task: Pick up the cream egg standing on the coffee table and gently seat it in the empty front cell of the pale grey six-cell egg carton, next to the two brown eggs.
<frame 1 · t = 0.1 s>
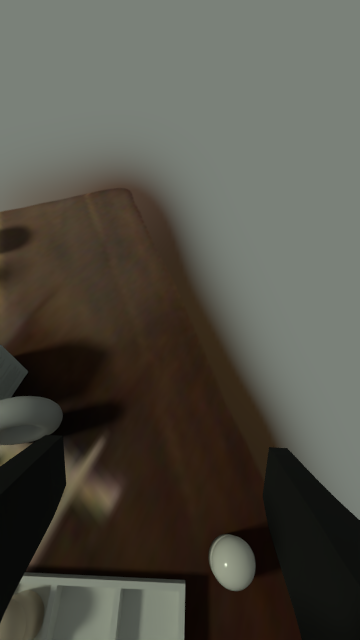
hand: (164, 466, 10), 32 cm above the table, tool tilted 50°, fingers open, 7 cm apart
white rounded piece: (36, 431, 42), on the table
egg: (227, 557, 34), on the table
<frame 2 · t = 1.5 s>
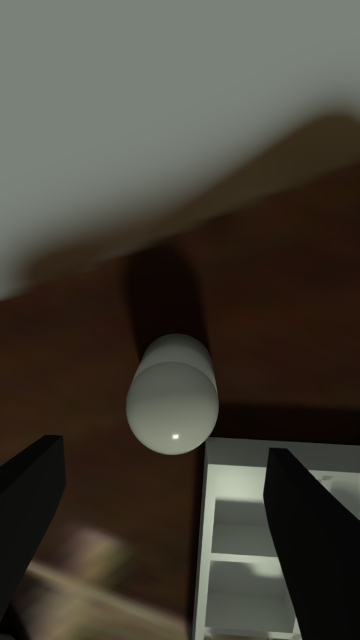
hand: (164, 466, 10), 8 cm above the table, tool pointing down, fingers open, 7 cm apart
egg: (176, 367, 19), on the table
egg carton: (291, 562, 22), on the table
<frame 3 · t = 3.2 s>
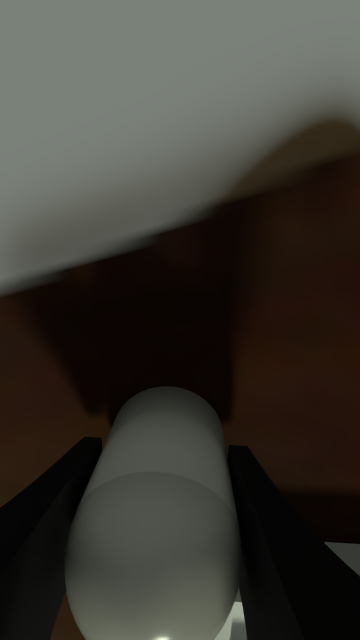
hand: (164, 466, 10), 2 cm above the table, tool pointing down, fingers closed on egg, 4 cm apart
egg: (167, 436, 12), on the table, touching gripper
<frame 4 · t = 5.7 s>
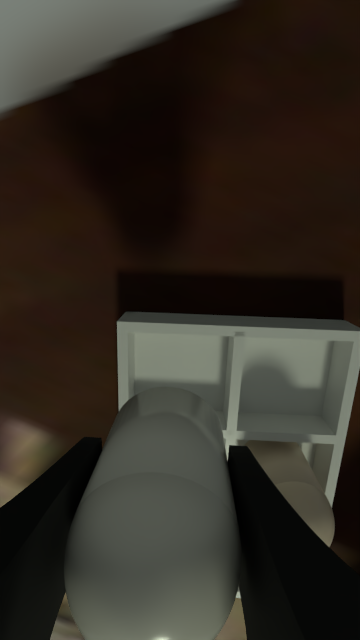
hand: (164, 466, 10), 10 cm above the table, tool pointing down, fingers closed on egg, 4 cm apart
egg: (167, 436, 12), point 8 cm above the table, touching gripper
egg carton: (223, 453, 22), on the table
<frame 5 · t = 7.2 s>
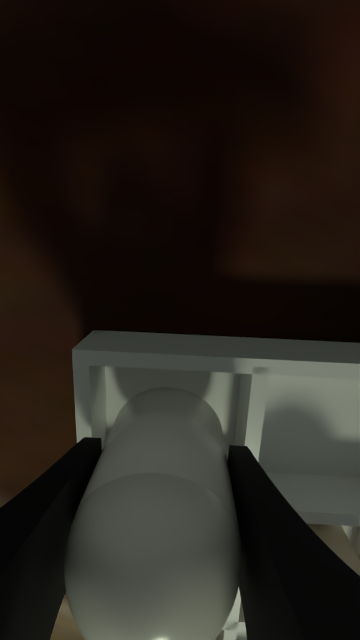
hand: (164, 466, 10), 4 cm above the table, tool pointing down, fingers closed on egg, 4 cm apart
egg: (167, 437, 12), point 2 cm above the table, touching gripper
egg carton: (230, 522, 16), on the table
when the fingers open (4 cm above the table, at t = 8.5 s): egg drops 2 cm, resting on egg carton.
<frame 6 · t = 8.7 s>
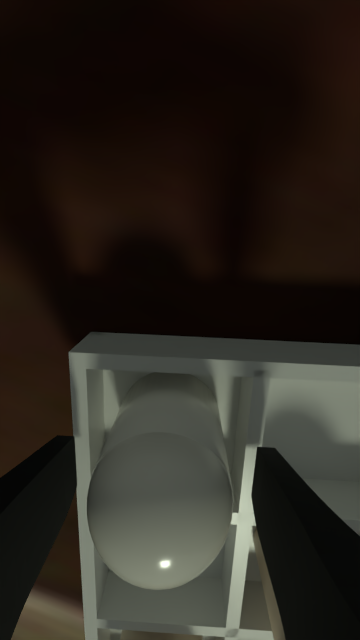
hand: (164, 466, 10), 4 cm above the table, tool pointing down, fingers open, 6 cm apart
egg: (170, 415, 14), resting on egg carton
egg carton: (230, 527, 16), on the table
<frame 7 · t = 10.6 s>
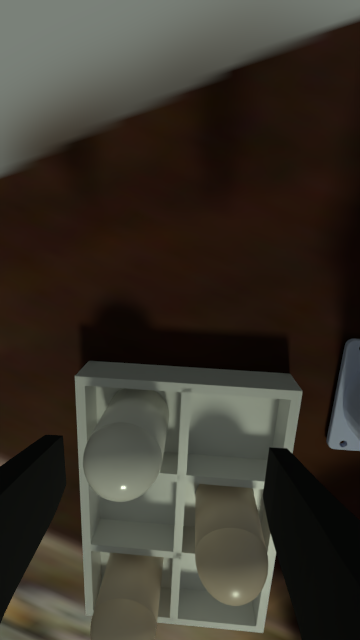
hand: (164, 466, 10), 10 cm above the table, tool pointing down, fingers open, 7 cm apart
egg: (138, 413, 21), resting on egg carton
egg carton: (181, 489, 23), on the table
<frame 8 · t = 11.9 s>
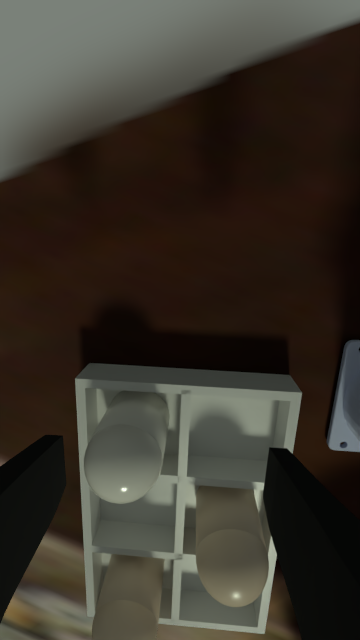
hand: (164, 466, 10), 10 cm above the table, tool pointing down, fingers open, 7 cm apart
egg: (138, 415, 21), resting on egg carton
egg carton: (181, 491, 23), on the table
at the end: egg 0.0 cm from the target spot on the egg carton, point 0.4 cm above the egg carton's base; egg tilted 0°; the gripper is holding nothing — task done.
